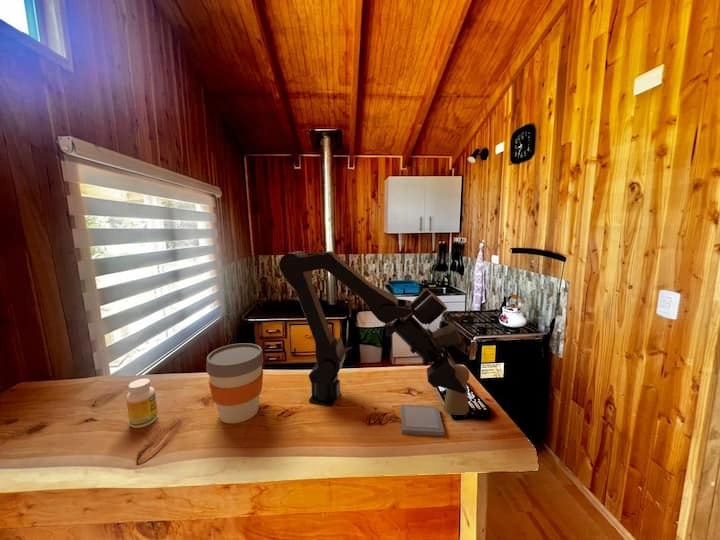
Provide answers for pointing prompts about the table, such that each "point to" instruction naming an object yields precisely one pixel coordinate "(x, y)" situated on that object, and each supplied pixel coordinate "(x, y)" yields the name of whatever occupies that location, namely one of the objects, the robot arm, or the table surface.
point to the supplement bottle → (141, 403)
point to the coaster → (421, 420)
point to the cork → (458, 395)
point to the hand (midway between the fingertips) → (461, 381)
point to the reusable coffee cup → (236, 380)
